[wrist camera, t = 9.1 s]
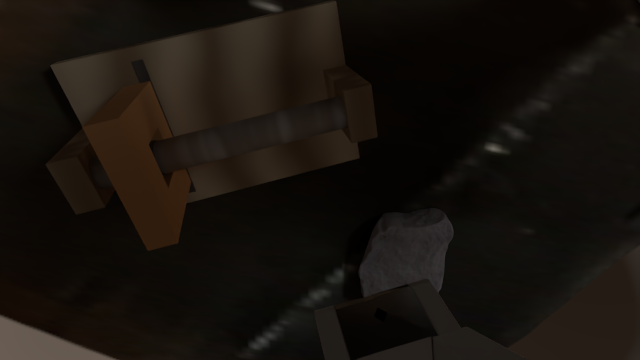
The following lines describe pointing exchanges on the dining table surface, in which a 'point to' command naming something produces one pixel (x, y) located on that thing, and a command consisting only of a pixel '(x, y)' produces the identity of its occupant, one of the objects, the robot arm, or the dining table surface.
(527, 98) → the dining table surface
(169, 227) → the collar
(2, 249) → the dining table surface
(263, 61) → the pipe stand
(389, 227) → the stone block
